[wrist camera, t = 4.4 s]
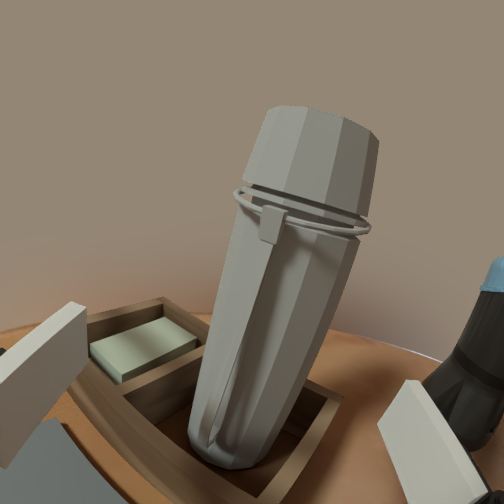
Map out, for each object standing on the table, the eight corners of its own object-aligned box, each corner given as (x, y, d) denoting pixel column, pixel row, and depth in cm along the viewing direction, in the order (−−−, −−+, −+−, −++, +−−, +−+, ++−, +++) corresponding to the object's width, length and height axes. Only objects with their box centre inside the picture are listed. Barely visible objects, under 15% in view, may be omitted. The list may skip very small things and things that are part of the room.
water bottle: (212, 401, 25) (284, 132, 20) (282, 438, 22) (391, 159, 17) (150, 451, 17) (215, 83, 11) (235, 506, 14) (395, 108, 8)
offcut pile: (157, 354, 30) (162, 315, 29) (190, 377, 28) (197, 337, 27) (87, 386, 22) (83, 343, 20) (119, 419, 20) (117, 377, 18)
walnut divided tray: (157, 338, 33) (163, 296, 32) (318, 437, 23) (343, 396, 22) (55, 374, 21) (49, 324, 19) (238, 545, 11) (264, 522, 9)
